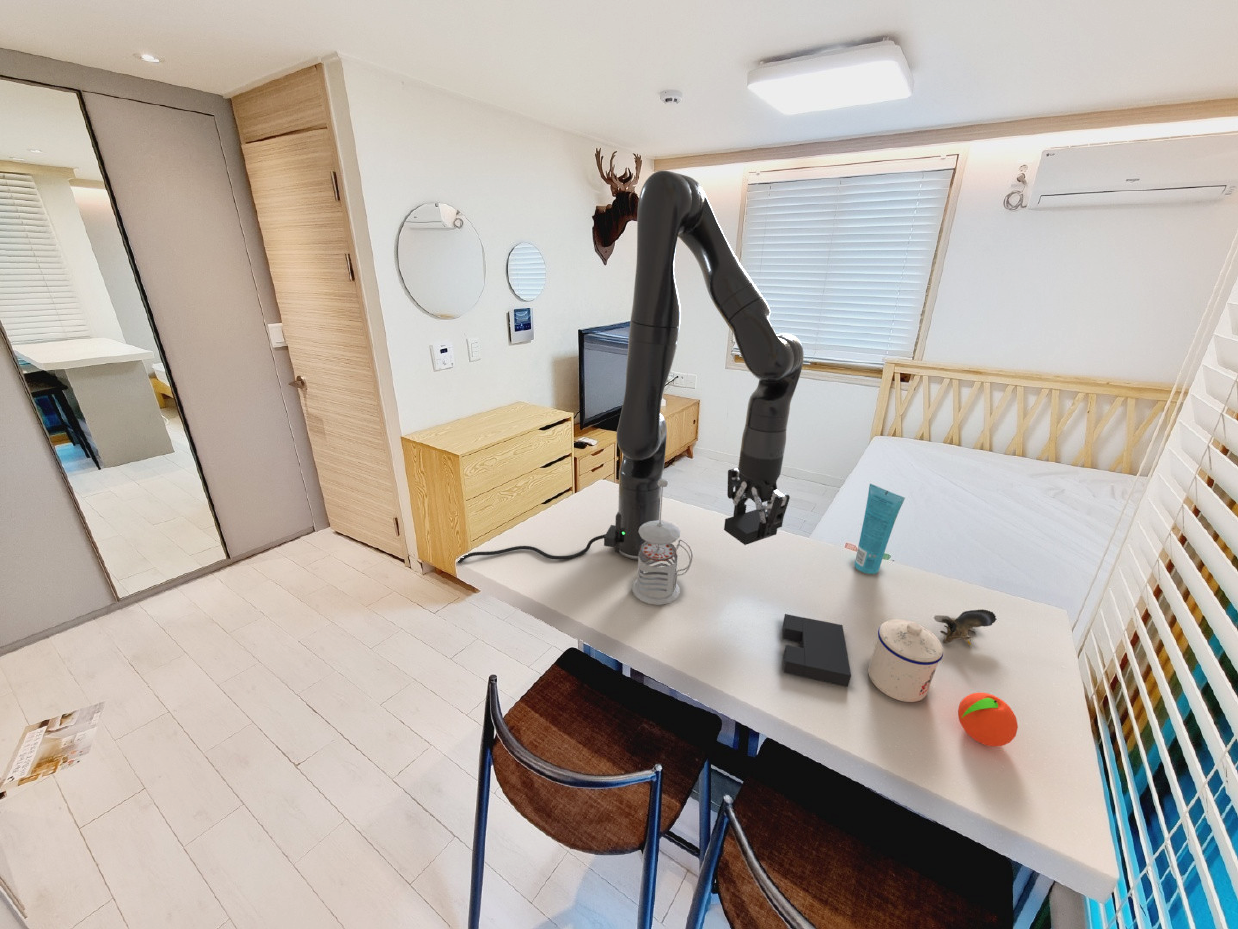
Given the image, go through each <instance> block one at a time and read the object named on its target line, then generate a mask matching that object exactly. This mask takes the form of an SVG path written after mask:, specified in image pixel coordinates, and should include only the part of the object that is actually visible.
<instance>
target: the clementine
mask: <svg viewBox="0 0 1238 929" xmlns="http://www.w3.org/2000/svg"><path fill="white" fill-rule="evenodd" d="M957 715H958V721H959V723H960V725H961V727H962V728H963V730H964V731H965V732H966V734H967V735H968V736H969V737H970V738H972V739H973V740H974V741H976V742H978V743H980V744H982V745H984V746H989V747H1002V746H1005V745H1008V744H1010V743H1012V741H1013V740H1014V739H1015V737H1016V736H1017V733H1018V729H1019V725H1018V720H1017V717H1016V714H1015V712H1014V711H1013V710H1012V708H1011V707H1010V706H1009V705H1008V704H1007V702H1005V701H1004V699H1003V700H1002V699H1001V698H1000V697H997V695H994V694H991V693H988V692H972V693H970V694H968V695H966V696H964V697H963V699H962V700H961V701H960V702H959V705H958V709H957Z"/></svg>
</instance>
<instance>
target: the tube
mask: <svg viewBox="0 0 1238 929" xmlns="http://www.w3.org/2000/svg"><path fill="white" fill-rule="evenodd" d="M867 493H868V494H867V498H866V499H867V500H866V506H865V511H864V515H863V522H862V526H861V532H860V536H859V540H858V546H857V551H856V554H855V559H854V568H855V569H857V571H859V572H860V573H864V574H867V575H876V574H878V573H879V571H880V568H881V565H882V561H883V560H884V559H883V558H884V555H885V553H886V549H887V547H888V543H889V541H890V537H891V535H892V532H893V528H894V525H895V524H896V520H897V518H898V515H899V513H900V510H901V508H902V506H903V504H904V501H905V499H906V497H904V496H902V495H899V494H897V493H895V492H891V491H890V490H887V489H885V488H882V487H881V486H878V485H875V484H872V483H869V486H868V492H867Z"/></svg>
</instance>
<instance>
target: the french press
mask: <svg viewBox="0 0 1238 929" xmlns="http://www.w3.org/2000/svg"><path fill="white" fill-rule="evenodd" d="M668 485H669V484H668V480H667V479H665V478H662V479H660V480H658V486H660V487H661V499H660V516H659V520H657V521H649V522H647V523H644V524H643V525H642V526H641V527H640V528H639V531H638V532H639V534H640V536H641V538H642V539H644V540H645V541H646V542H644V543H643V544H642V545H641V548H640V551H639V557H638V560H637V561H638V562H637V578H636V579H635V581H633V583H632V588H631V591H632V593H633V595H634V596H635V597H636V598H637V599H638V600H639V601H641V602H643V603H646V604H649V605H657V606H662V605H669V604H670V603H672V602H674V601H676V600H677V599H678V597H679V596H680V594H681V593H680V592H681V588H680V586H679V585H678V583H677V580H678V577H679V576H684V575H685V574H687V572H688V571H689V570H690V568H691V564H692V562H693V556H694V554H693V551H692V549H691V546H690V545H689V544H688V543H687V542H686V541H685V540H683V539H680V537H681V530H680V529H679V527H678V526H676V525H675V524H673V523H672V522H668V521H665V520H662V508H663V507H662V506H663V493H664V492H663V491H664V488H666V487H668ZM676 541H678V543H677V544H676V546H675V544H673V543H675V542H676ZM681 542H682V543H684V544H685V545H686V546H687V548H688V549H689V551H690V553H689V551H688V550H687V548H685V546H683V545H682V544H681ZM680 548H682V549H683V550H684V551H685V552H686V553H687V556H688V560H689V562H688V565H687V567H684V568H681V569H677V565H678V554H677V551H678V550H679V549H680ZM644 556H645V557H646V558H644ZM650 560H651V561H650ZM647 561H649V562H647ZM659 562H660V563H659ZM665 562H667V563H668V564H669V565H668V564H667V563H665ZM656 563H657V564H656ZM653 564H654V565H653ZM682 571H684V572H683V573H679V572H682Z"/></svg>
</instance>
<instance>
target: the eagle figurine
mask: <svg viewBox="0 0 1238 929" xmlns="http://www.w3.org/2000/svg"><path fill="white" fill-rule="evenodd" d="M933 619H934V621H935V622H937V623H942V624H945V625H943V627H944V628H945V629H946V631H944V630H939V631H940V633H941V634H944V636H945V638H944V640H943V641H942V643H943V644H946V643H951V642H953V641H954V640H958V639H959V640H964V641H965V642H966V643H967V644H968V645H969V646H972V643H971V642H972V637H971V636H970V635H969V633H968V631H972V632H975V633H977V630H976V629H975V628H980V627H990V626H992V625H993V624H994V623H996V621H997V620H998V619H997V615H996V613H995V612H994V611H991V610H987V609H971V610H965V611H963V612H962V613H960V614H959V616H957V617H950V616H949V615H943V614H941V615H940V614H937V615H936V614H935V615H934V616H933Z"/></svg>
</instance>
